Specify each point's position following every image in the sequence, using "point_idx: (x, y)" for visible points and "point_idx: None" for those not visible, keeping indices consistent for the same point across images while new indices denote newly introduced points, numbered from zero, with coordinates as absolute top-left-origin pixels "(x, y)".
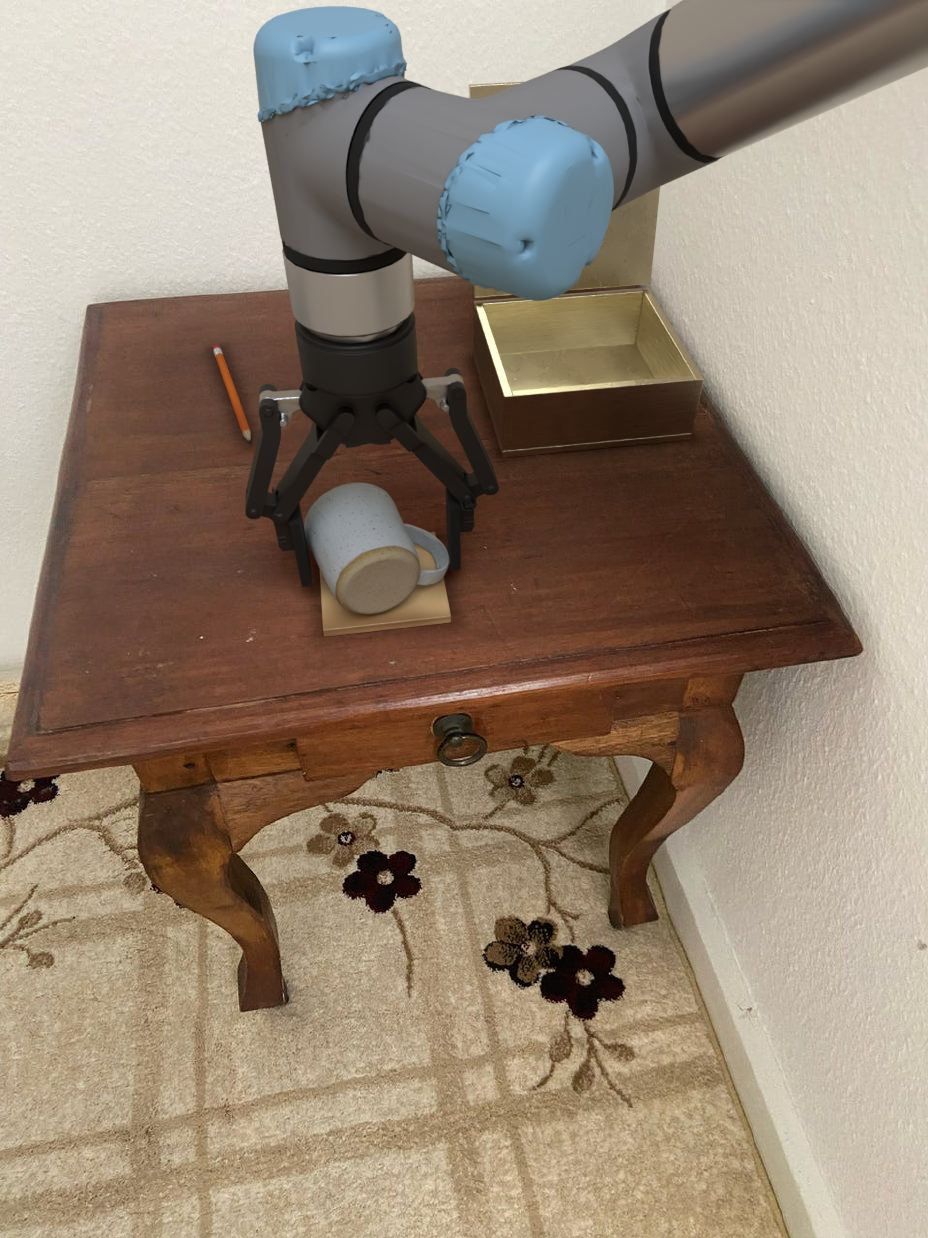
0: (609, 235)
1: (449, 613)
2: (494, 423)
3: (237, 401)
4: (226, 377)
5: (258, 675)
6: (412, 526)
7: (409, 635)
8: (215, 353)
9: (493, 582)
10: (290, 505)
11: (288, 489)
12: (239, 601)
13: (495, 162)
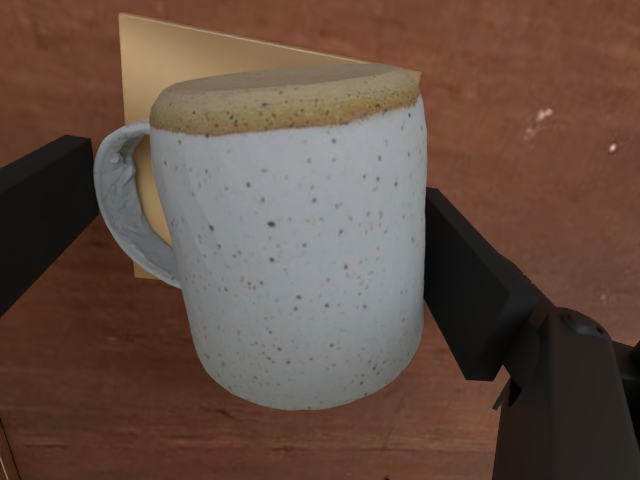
0: None
1: (120, 23)
2: (4, 473)
3: None
4: None
5: (574, 4)
6: (168, 280)
7: (234, 7)
8: None
9: (12, 115)
10: (573, 359)
11: (633, 431)
12: (519, 212)
13: None
